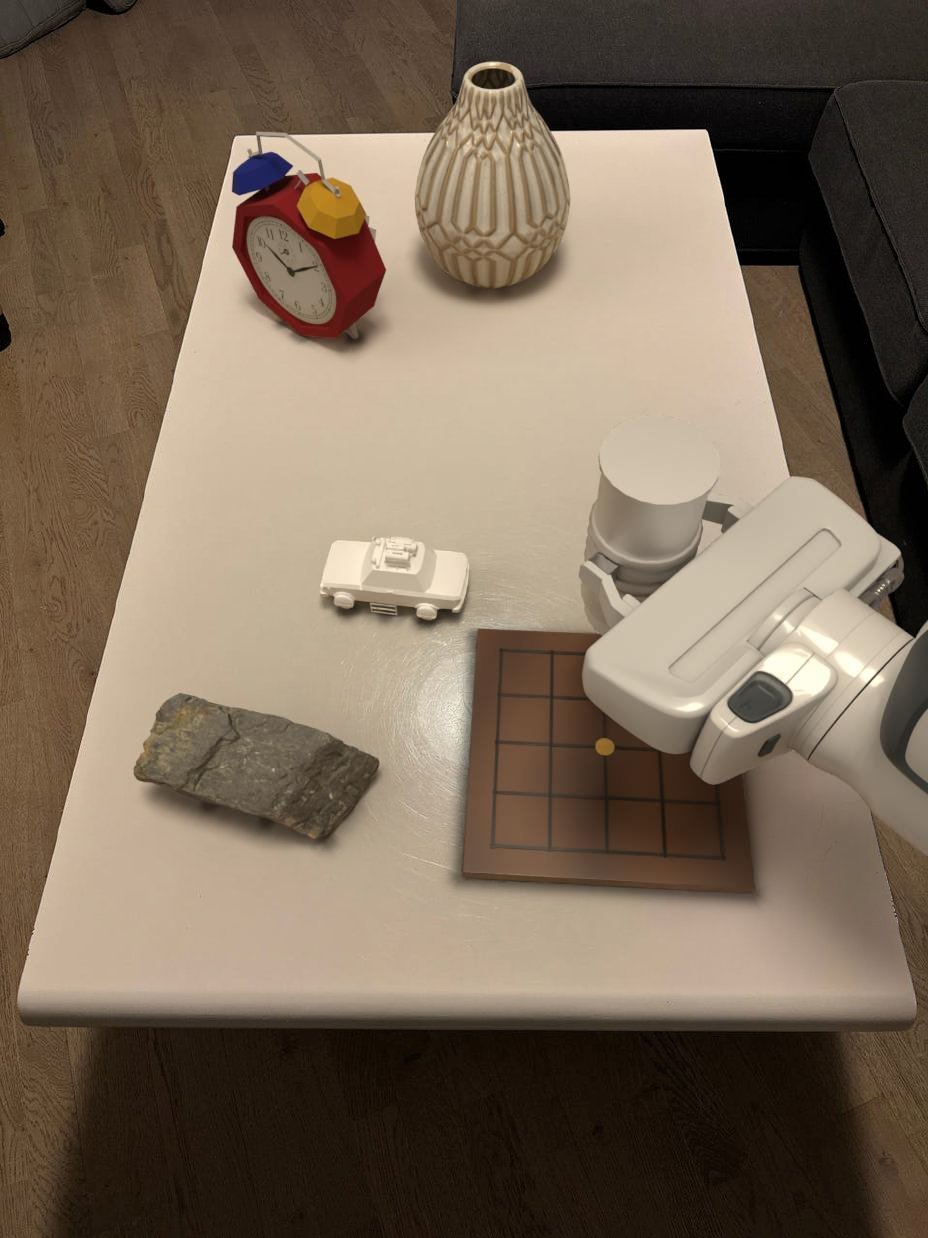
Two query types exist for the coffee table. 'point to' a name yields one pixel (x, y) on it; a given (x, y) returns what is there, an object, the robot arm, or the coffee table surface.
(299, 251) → the alarm clock
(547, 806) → the grid board
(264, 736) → the rock
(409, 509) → the coffee table surface
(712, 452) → the white travel cup
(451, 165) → the vase
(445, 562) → the toy car
